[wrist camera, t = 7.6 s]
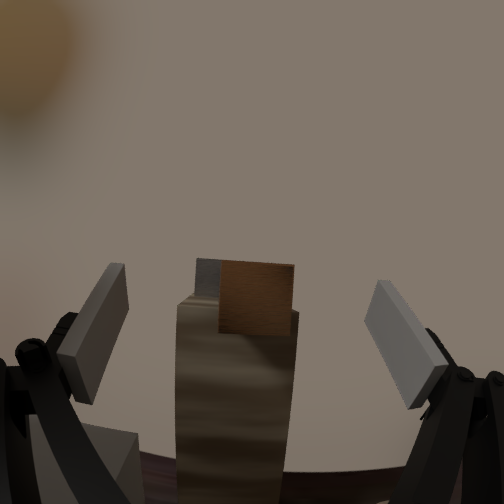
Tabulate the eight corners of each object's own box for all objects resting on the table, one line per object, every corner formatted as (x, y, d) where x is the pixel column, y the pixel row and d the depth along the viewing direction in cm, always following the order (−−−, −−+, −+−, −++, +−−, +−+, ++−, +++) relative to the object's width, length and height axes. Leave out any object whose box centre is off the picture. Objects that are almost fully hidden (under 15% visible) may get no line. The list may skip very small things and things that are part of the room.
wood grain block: (267, 568, 22) (299, 312, 24) (184, 567, 21) (177, 305, 23) (252, 494, 38) (267, 297, 40) (190, 492, 37) (193, 292, 39)
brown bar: (342, 336, 14) (347, 247, 14) (160, 328, 13) (165, 234, 13) (265, 298, 38) (267, 264, 38) (196, 294, 37) (198, 259, 37)
